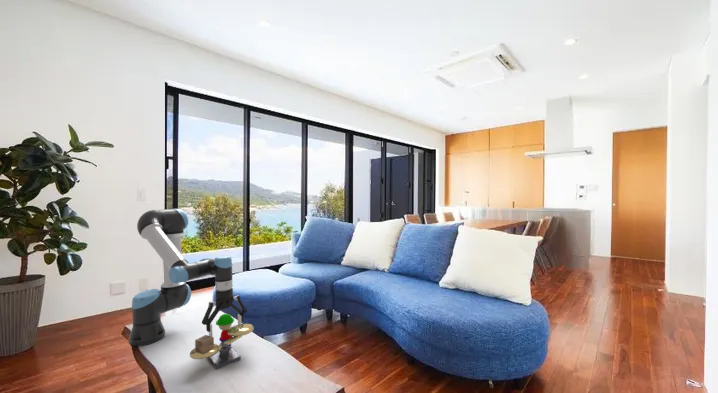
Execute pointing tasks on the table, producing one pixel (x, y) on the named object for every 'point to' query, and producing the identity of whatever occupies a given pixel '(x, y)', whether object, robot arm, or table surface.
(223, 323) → the toy
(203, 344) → the walnut block
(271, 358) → the table surface
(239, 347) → the table surface
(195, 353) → the balance
